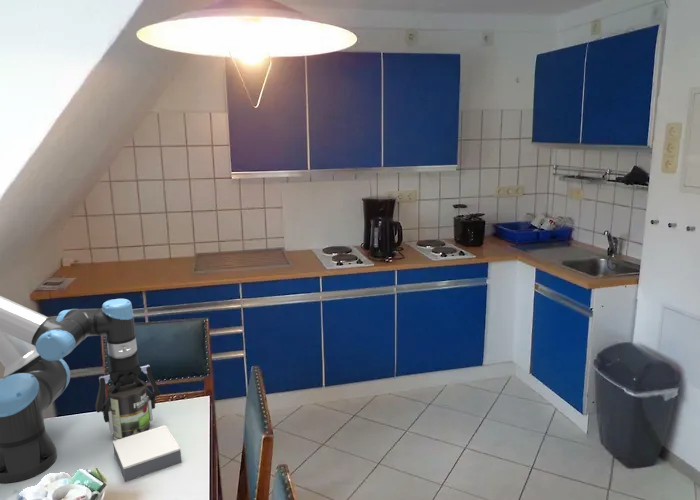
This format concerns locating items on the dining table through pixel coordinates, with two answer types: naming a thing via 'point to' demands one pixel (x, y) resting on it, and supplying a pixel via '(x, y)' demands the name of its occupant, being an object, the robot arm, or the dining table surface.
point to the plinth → (146, 452)
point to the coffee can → (129, 410)
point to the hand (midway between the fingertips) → (131, 424)
